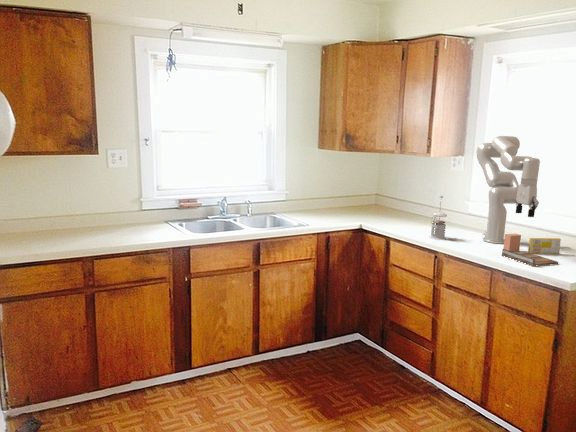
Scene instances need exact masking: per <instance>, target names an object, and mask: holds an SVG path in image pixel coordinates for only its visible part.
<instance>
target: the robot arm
mask: <svg viewBox="0 0 576 432" xmlns="http://www.w3.org/2000/svg"><path fill="white" fill-rule="evenodd" d="M519 139H520V138H518V137H516V136H512V135H511V136H509V135H499V136H496V137H494V139H492V141H491V142H483V143H481V144H479V145H478V147H477V149H476V159H477V161H478V164H479V165H480V167H481V169H482V171H483V175H484V177H485V180H486V183H487V186H488V187H490V189H489V190H488V215H487V225H486V231H484V232H482V235H483V236H484V237H483V238H482V240H483V242H487V243H491V244H501V245H502V244H504V239H505V232H506V223H507V222H506V221H507V214H508V212H507V209H506V206H505V204H510V205H512V204H513V205H514V204H515V205H516V206H515V214H522V213H523V205H525V206H528V207H529V209H528V212H527V217H528V218H534V217H535V212H536V209H537V208H538V206H539V203H540V201H539V200H538V198H537V197H538V186H537V185H538V180H539V171H540V164H541V161H540V159H539V158H536V157H532V156H528V155H527V156H526V155H518V152H519V148H520V146H521V142H520V140H519ZM492 158H497V159H499V158H500V163H501V165H502V166H503V167H504V168H505V169H506V170H509V171H502V170H500V168H499V165H498V163H497V162H496V161H495V160H493V159H492ZM511 171H521V177H520V183H519V182H518V179H517V177H516V175H515V174H514V173H513V172H511Z"/></svg>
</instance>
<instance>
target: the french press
mask: <svg viewBox="0 0 576 432" xmlns="http://www.w3.org/2000/svg"><path fill="white" fill-rule="evenodd" d="M439 198H440V199H442V198H444V196H443V195H439ZM439 205H440V206H439V207H440V208H439V209H441V207H442V206H441V205H442V202H440V204H439ZM446 217H448V216H447V214H446V213H444V212H443V211H437V212H434V213H432V217H431V221H430V223H431V231H430V232H431V233H430V236H428V238H429V239H432V240H437V241H444V240H447V237H446V236H445V235H446V221H445V220H440V218H446ZM436 218H438V219H437V220H435V219H436Z"/></svg>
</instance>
